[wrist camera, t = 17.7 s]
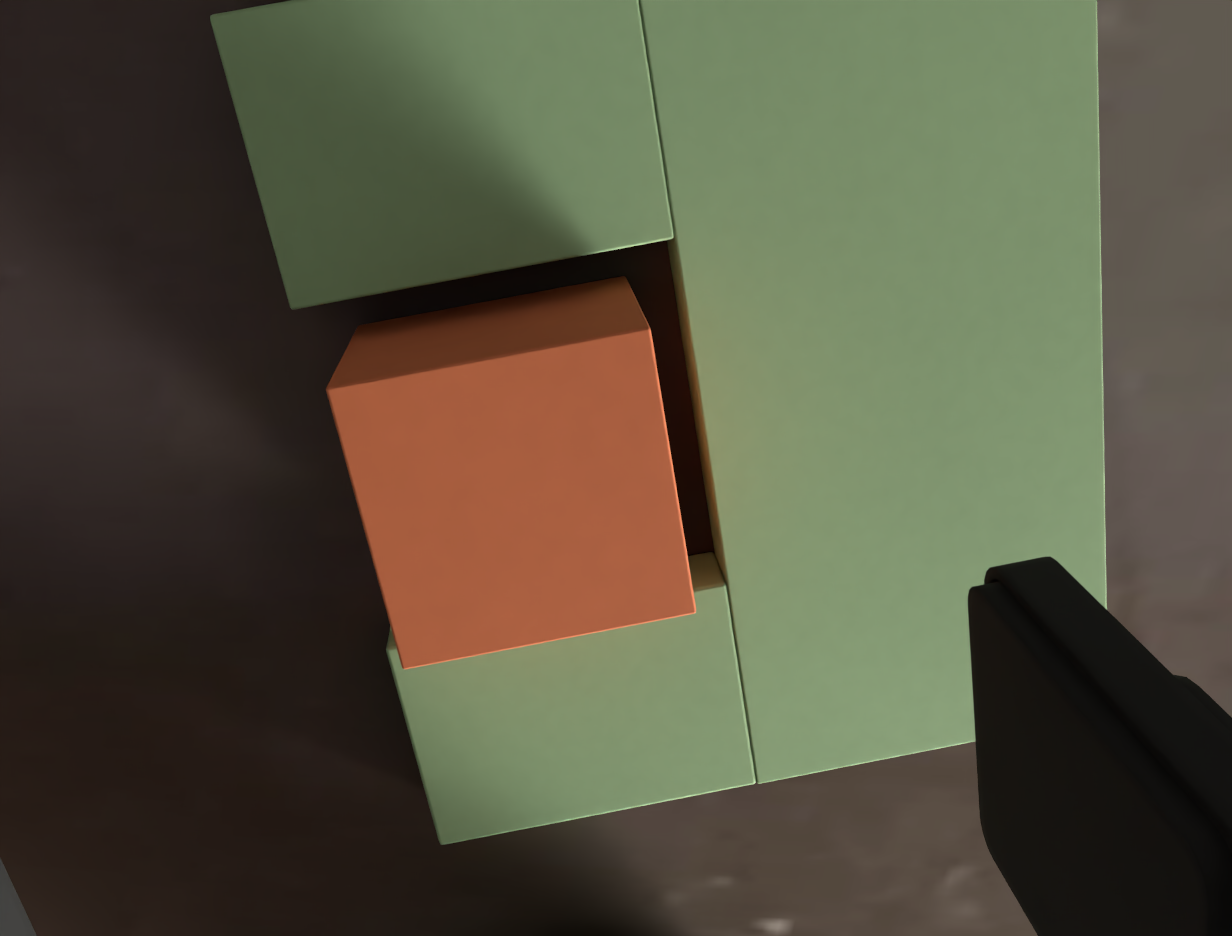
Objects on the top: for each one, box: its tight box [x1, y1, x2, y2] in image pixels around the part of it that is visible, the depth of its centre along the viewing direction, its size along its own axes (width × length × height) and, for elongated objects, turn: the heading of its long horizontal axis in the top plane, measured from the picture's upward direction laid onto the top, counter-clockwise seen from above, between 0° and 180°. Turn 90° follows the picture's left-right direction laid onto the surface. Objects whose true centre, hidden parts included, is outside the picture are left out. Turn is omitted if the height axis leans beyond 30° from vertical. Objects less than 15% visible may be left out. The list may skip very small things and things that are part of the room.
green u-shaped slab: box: [210, 0, 1107, 845], centre depth 21 cm, size 16×14×2 cm
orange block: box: [326, 276, 696, 669], centre depth 20 cm, size 5×5×4 cm
